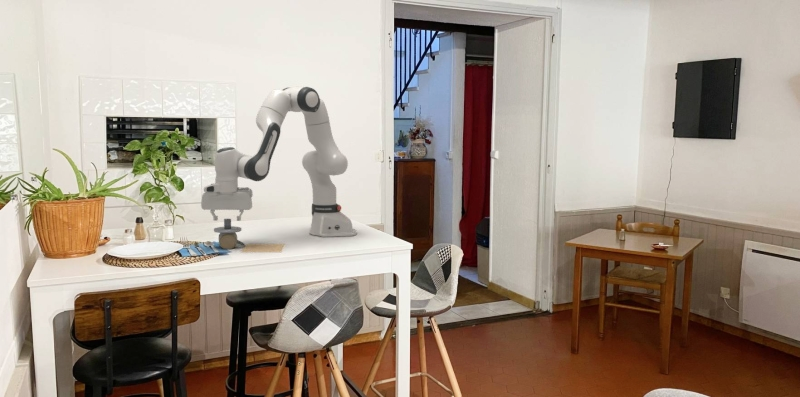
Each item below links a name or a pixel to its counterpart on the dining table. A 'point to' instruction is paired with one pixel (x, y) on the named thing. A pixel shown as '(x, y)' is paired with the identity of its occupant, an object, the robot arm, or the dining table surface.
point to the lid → (227, 227)
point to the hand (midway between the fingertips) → (227, 220)
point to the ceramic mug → (229, 241)
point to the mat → (263, 248)
